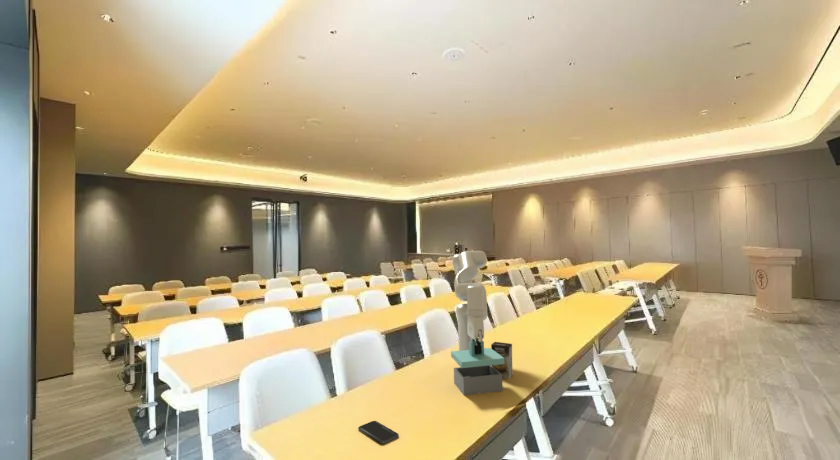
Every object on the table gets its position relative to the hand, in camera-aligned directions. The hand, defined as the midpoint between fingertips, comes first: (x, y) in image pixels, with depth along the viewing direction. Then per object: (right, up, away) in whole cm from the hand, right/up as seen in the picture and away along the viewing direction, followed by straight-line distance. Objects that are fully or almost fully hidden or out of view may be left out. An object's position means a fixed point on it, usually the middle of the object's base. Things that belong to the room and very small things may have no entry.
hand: (476, 352), depth 171 cm
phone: (-41, -17, -38) cm, 58 cm away
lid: (0, -4, 0) cm, 4 cm away
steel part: (-4, -16, 0) cm, 16 cm away
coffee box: (+15, -17, +13) cm, 26 cm away
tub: (0, -16, -1) cm, 16 cm away
